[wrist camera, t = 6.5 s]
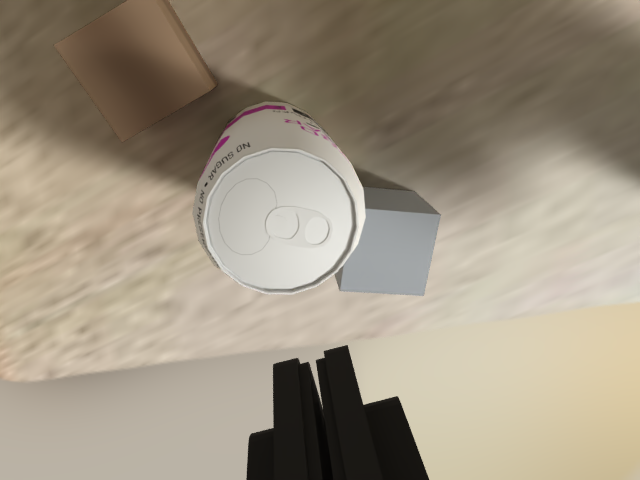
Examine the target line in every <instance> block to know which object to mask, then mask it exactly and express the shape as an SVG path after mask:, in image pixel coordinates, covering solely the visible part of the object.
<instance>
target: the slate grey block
mask: <svg viewBox="0 0 640 480" xmlns="http://www.w3.org/2000/svg"><path fill="white" fill-rule="evenodd" d="M363 190H364V202H365V215H366V218H365V222H364V225H363V229H362V232H361V236H360V239H359V243H358V245H357V246H356V248H355V249H354V251H353V252H352V253H351V255H350V256H349V258H348V259H347V260H346V262H345V263H344V265H343V266H342V267H341V268H340V269H339V270H338V272H337V273H335V278H336V281H337V284H338V287H339V290H340V291H347V292H364V293H382V294H400V295H417V296H424V292H425V287H426V282H427V278H428V273H429V268H430V263H431V259H432V254H433V249H434V244H435V240H436V235H437V230H438V225H439V221H440V216H441V215H440V214H439V213H438V212H437V211H436V210H435V209H434V208H433V207H432V206H430V205H429V204H428V203H427V202H426V201H425V200H424V199H423V198H422V197H421V196H419V195H418V194H417V193H416V192H415V191H405V190H394V189H383V188H371V187H363Z"/></svg>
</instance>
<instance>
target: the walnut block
mask: <svg viewBox="0 0 640 480" xmlns="http://www.w3.org/2000/svg"><path fill="white" fill-rule="evenodd" d="M54 47H55V48H56V50H57V51H58V52H59V54H60V55H61V57H62V58H63V60H64V61H65V62H66V64H67V65H68V67H69V68H70V69H71V71H72V72H73V74H74V75H75V77H76V78H77V79H78V81H79V82H80V84H81V85H82V87H83V88H84V89H85V91H86V92H87V94H88V95H89V96H90V98H91V99H92V101H93V102H94V104H95V105H96V106H97V108H98V109H99V111H100V112H101V113H102V115H103V116H104V118H105V119H106V121H107V122H108V123H109V125H110V126H111V128H112V129H113V131H114V132H115V133H116V135H117V136H118V138H119V139H120V140H121V142H124V141H125V140H127V139H129V138H131V137H132V136H134V135H136V134H137V133H139V132H141V131H143V130H144V129H146V128H148V127H149V126H151V125H153V124H155V123H156V122H158V121H160V120H161V119H163V118H165V117H166V116H168V115H170V114H172V113H173V112H175V111H177V110H178V109H180V108H182V107H184V106H185V105H187V104H189V103H190V102H192V101H194V100H196V99H197V98H199V97H201V96H202V95H204V94H206V93H208V92H209V91H211V90H212V89H213V88H215V87H216V86H217V85H218V83H217V82H216V80H215V78H214V77H213V75H212V73H211V72H210V70H209V68H208V67H207V65H206V63H205V62H204V60H203V58H202V57H201V55H200V53H199V52H198V50H197V48H196V46H195V45H194V43H193V41H192V40H191V38H190V36H189V35H188V33H187V31H186V30H185V28H184V26H183V25H182V23H181V21H180V20H179V18H178V16H177V15H176V13H175V11H174V9H173V8H172V6H171V4H170V3H169V1H168V0H127V1H125V2H124V3H122V4H120V5H119V6H117V7H115V8H114V9H112V10H111V11H109V12H107V13H106V14H104V15H102V16H101V17H99V18H97V19H96V20H94V21H93V22H91V23H89V24H88V25H86V26H84V27H83V28H81V29H79V30H78V31H76V32H75V33H73V34H71V35H70V36H68V37H66V38H65V39H63V40H61V41H60V42H58V43H56V44H55V45H54Z"/></svg>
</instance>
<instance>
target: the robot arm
mask: <svg viewBox="0 0 640 480" xmlns="http://www.w3.org/2000/svg"><path fill="white" fill-rule="evenodd" d="M324 356H325V358H322V359H318V360H316V364H317V371H318V378H319V385H320V392H321V399H322V405H323V408H322V405H321V402H320V398H319V395H318V391H317V388H316V385H315V381H314V378H313V374H312V371H311V367H310V364H309V362H306V363H302V364H300V362H299V359H298V358H296V359H291V360H287V361H283V362H279V363H276V364H274V365H273V403H274V404H273V405H274V406H273V407H274V410H273V412H274V413H273V414H274V428H272V429H268V430H264V431H260V432H256V433H252V434H251V435H250V437H249V445H248V463H247V480H429V478H428V475H427V473H426V470H425V467H424V464H423V462H422V459H421V456H420V454H419V451H418V449H417V446H416V443H415V440H414V437H413V435H412V432H411V429H410V427H409V424H408V421H407V419H406V416H405V413H404V411H403V408H402V405H401V403H400V400H399V398H398V397H397V396H396V397H392V398H389V399H385V400H381V401H377V402H373V403H369V404H366V405H363V402H362V399H361V395H360V391H359V387H358V383H357V379H356V376H355V372H354V368H353V364H352V360H351V357H350V353H349V349H348V345H346V346H342V347H338V348H334V349H330V350H326V351H324Z"/></svg>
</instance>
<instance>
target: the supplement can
mask: <svg viewBox="0 0 640 480" xmlns="http://www.w3.org/2000/svg"><path fill="white" fill-rule="evenodd" d="M193 217H194V222H195V227H196V231H197V236H198V241H199V242H200V244H201V245H202V247H203V249H204V250H205V252H206V253H207V255H208V256H209V258H210V259H211V261H212V263H213V264H214V265H215V266H216V267H217V268H219V269H220V270H221V271H223V272H224V273H225V274H226V275H228V276H229V277H230V278H232V279H233V280H234V281H236V282H237V283H239V284H240V285H242V286H244V287H247V288H250V289H253V290H256V291H259V292H262V293H265V294H295V293H298V292H302V291H305V290H308V289H311V288H314V287H317V286H319V285H320V284H321V283H323V282H324V281H326V280H327V279H328V278H330V277H331V276H332V275H334V274H335V273H337V272H338V270H339V269H340V268H341V267H342V266H343V265H344V263H345V262H346V260H347V259H348V258H349V256H350V255H351V253H352V252H353V251H354V249H355V248H356V246H357V245H358V243H359V239H360V236H361V232H362V229H363V225H364V222H365V218H366V215H365V202H364V190H363V187H362V185H361V183H360V181H359V179H358V177H357V174H356V172H355V170H354V168H353V166H352V164H351V162H350V161H349V160H348V159H347V157H346V156H345V155H344V154H343V152H342V151H341V150H340V149H339V148H338V146H337V145H336V144H335V143H334V142H333V140H332V139H331V138H330V137H329V135H328V134H327V133H326V132H325V131H324V129H323V128H322V127H321V126H320V125H319V124H318V123H317V122H316V121H315V120H314V119H313V118H312V117H311V116H310V115H309V114H308V113H307V112H306V111H304V110H302V109H300V108H297V107H295V106H293V105H290V104H288V103H283V102H262V103H259V104H256V105H253V106H250V107H246V108H245V109H243V110H242V111H241V112H240V113H238V114H237V115H236V116H234V117H233V118H232V119H231V120H229V122H228V124H227V125H226V127H225V129H224V130H223V132H222V134H221V135H220V137H219V139H218V141H217V143H216V145H215V147H214V149H213V151H212V154H211V156H210V158H209V160H208V162H207V164H206V166H205V168H204V170H203V172H202V175H201V177H200V179H199V181H198V183H197V188H196V194H195V201H194V207H193Z"/></svg>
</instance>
